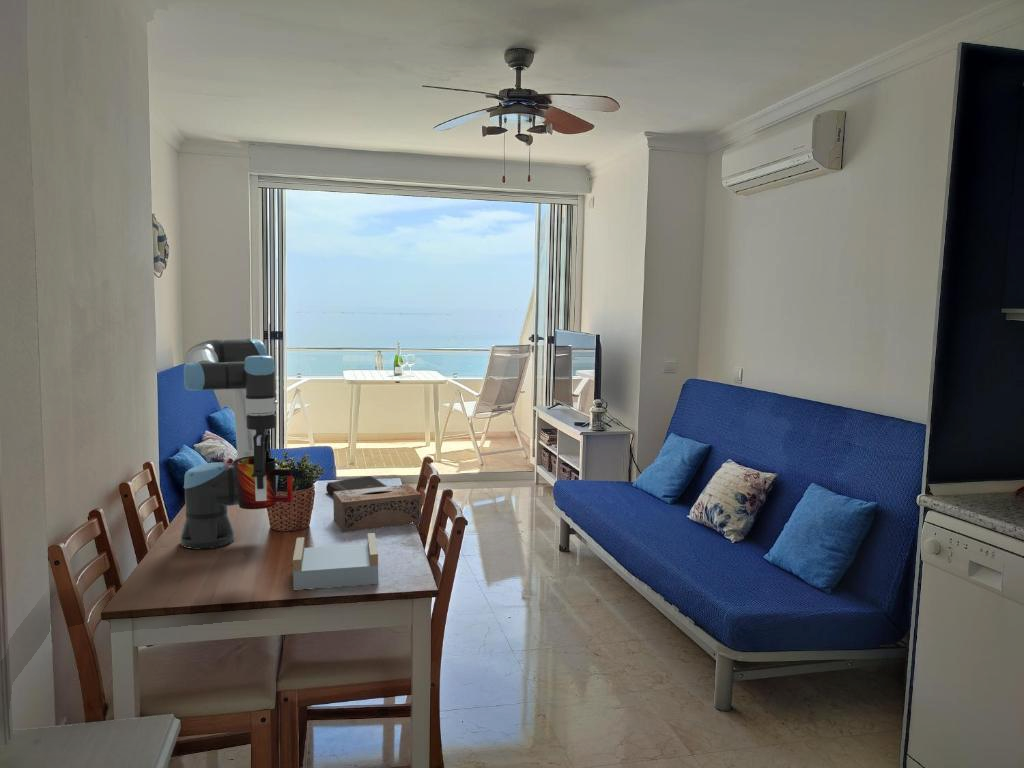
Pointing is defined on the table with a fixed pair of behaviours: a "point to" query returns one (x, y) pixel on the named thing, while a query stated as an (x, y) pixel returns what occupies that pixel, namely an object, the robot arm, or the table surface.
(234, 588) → the table surface
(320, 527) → the table surface
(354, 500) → the tissue box cover
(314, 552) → the notched stand
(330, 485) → the diary
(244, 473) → the mug
